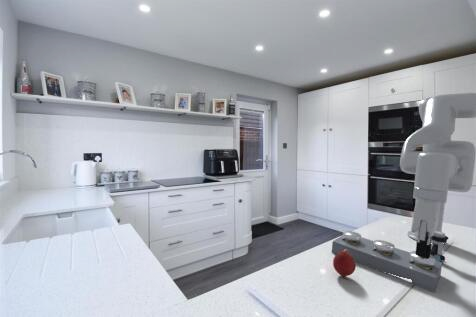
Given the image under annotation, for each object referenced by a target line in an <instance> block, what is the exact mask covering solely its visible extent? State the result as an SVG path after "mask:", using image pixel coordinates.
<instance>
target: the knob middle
mask: <svg viewBox="0 0 476 317" xmlns="http://www.w3.org/2000/svg"><path fill="white" fill-rule="evenodd" d="M373 241H374V244H373V248H374V249H375V251H376V252H379V253H382V254H385V255H387V256H391V254H393V253H394V248H396V247H395V244H393V243H392V242H389V241H386V240H381V239H375V240H373Z"/></svg>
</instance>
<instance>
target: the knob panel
mask: <svg viewBox="0 0 476 317" xmlns="http://www.w3.org/2000/svg"><path fill="white" fill-rule="evenodd" d="M373 244H374V240H371V239H368V238H365V237H362V236H361V242H360V243H358V244H357V245H355V244H352V243H349V242H346V241H345V240H344V239H343V235H341V236H339V237H338V238H336V239H334V240H333V241H332V244H331V253H333V254H334V255H335V254H336V255H337V254H338V253H340V252H342V251H343V250H345V249H347V250H348V254H350V255H351V256H352V258H353V259H354V261H355V263H357V264H358V263H359V264H361V265H363V266H366V267H369V268H371V269H373V268H374V270H376V269H377V270H376V271H378V270H380V271H379V272H381V271H383V272H382V273H384V272H386V273H390V274H393V275H396V276H399V277H403V278H407V279H411V280H412V283H411V284H412V285H415V286H417V287H420V288H422V289H425V290H427V291H430V292H432V293H436V290H437V287H438V284H439V281H440V278H441V274H442V267H443V264H442V262H439V261H436V260H435V267H433V268H431V270H429V269H426V268H423V267H420V266H417V265H414V264H412V261H411V260H410V252H411V251H410V252H409V251H407V250H403V249H400V248H396V247H395V248H394V253H393V254H391V256H387V255H385V254H382V253H379V252H376V251H375V249H374V248H373ZM386 273H385V274H386Z"/></svg>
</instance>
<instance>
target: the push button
mask: <svg viewBox="0 0 476 317" xmlns="http://www.w3.org/2000/svg"><path fill="white" fill-rule="evenodd" d="M431 240H432V244H431V253H430V255H431V256H432V257H434V258H435V260H436V261H439V262H442V266H446V264H447V263H448V262H446V261H445V260H446V257H445V256H444V255H443V247H444V245H443V243H445V244H446V243H447V241H448V240H449V237H448V236H447V235H446V233H445V232H443V231H441V232H439V231H436V232H435V233H434V235H433V236H432V238H431Z"/></svg>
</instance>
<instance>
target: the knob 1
mask: <svg viewBox="0 0 476 317" xmlns="http://www.w3.org/2000/svg"><path fill="white" fill-rule="evenodd" d="M342 236H343V239H344V240H345V241H346V242H349V243H352V244H355V245H357V244H358V243H360V242H361V237H362V234H361V233H359V232H356V231H352V230H344V231H343V233H342Z"/></svg>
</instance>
